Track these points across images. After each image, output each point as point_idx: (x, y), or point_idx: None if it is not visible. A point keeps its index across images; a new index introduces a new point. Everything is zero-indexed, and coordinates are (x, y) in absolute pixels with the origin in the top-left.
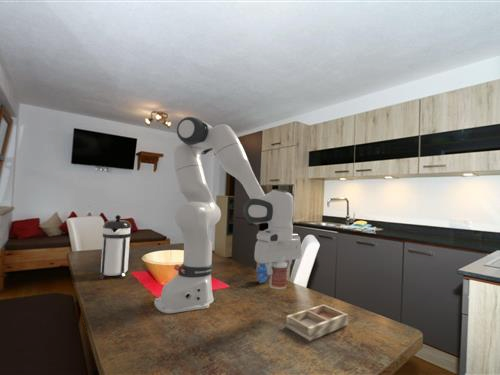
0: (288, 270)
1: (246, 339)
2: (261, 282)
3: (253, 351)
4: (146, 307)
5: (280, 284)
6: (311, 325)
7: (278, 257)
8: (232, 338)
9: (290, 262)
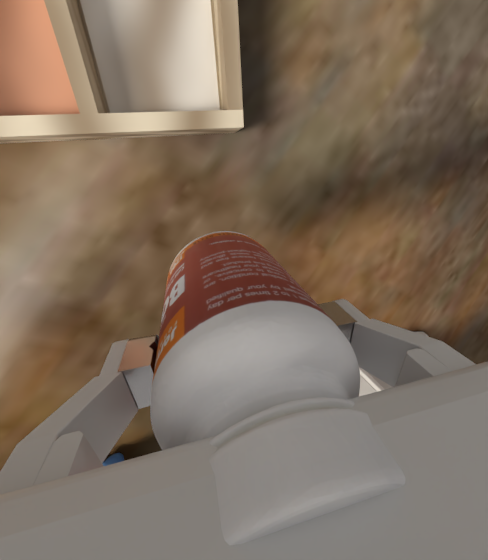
0: (118, 347)
1: (391, 133)
2: (115, 455)
3: (427, 51)
4: None
5: (249, 240)
6: (138, 31)
7: (438, 463)
8: (411, 162)
9: (50, 440)
